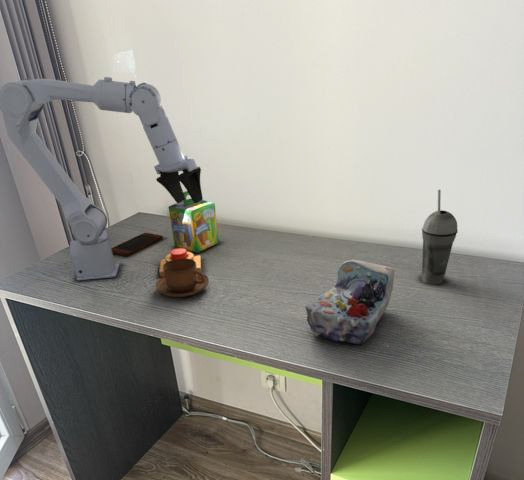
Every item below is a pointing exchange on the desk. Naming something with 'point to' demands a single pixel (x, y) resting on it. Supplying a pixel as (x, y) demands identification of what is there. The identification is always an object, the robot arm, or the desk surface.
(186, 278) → the cup and saucer
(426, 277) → the beverage cup
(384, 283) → the cell model
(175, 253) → the button
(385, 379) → the desk surface
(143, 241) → the smartphone
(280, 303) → the desk surface
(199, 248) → the chalk box
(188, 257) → the box
